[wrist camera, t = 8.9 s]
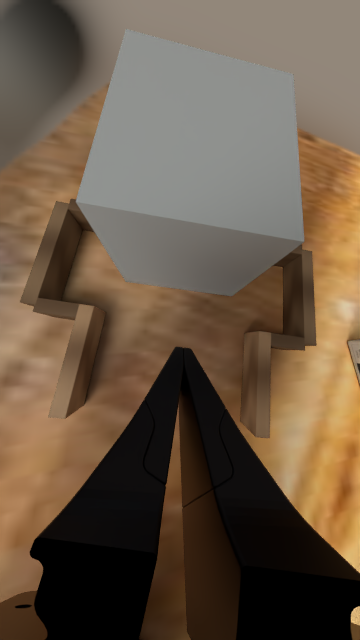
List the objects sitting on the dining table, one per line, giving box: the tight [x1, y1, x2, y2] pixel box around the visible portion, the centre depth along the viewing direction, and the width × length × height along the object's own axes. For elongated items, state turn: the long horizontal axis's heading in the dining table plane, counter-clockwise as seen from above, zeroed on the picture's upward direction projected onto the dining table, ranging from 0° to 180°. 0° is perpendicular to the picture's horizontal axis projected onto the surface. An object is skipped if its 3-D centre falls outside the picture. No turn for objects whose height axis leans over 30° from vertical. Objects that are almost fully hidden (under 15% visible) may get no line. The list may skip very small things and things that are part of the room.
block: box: [76, 29, 304, 296], centre depth 13 cm, size 14×12×9 cm
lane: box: [20, 199, 316, 438], centre depth 14 cm, size 30×27×4 cm
